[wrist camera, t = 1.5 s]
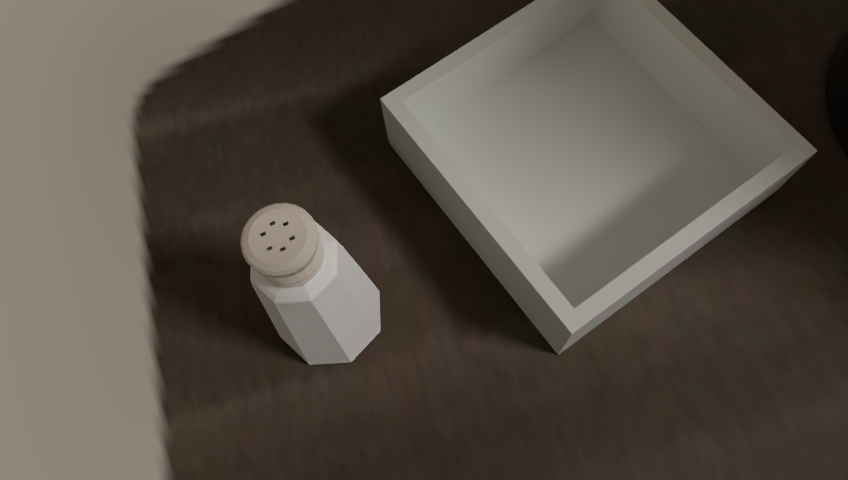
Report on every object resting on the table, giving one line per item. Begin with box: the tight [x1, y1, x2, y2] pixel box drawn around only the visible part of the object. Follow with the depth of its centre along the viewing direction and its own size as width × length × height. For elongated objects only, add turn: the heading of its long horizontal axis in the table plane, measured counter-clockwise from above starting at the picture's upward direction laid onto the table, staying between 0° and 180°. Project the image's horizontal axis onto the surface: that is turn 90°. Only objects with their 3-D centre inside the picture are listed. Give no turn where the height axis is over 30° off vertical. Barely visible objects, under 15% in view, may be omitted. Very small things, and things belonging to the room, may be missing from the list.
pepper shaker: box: [241, 203, 380, 365], centre depth 30 cm, size 5×5×11 cm
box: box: [380, 0, 818, 355], centre depth 35 cm, size 15×15×4 cm
